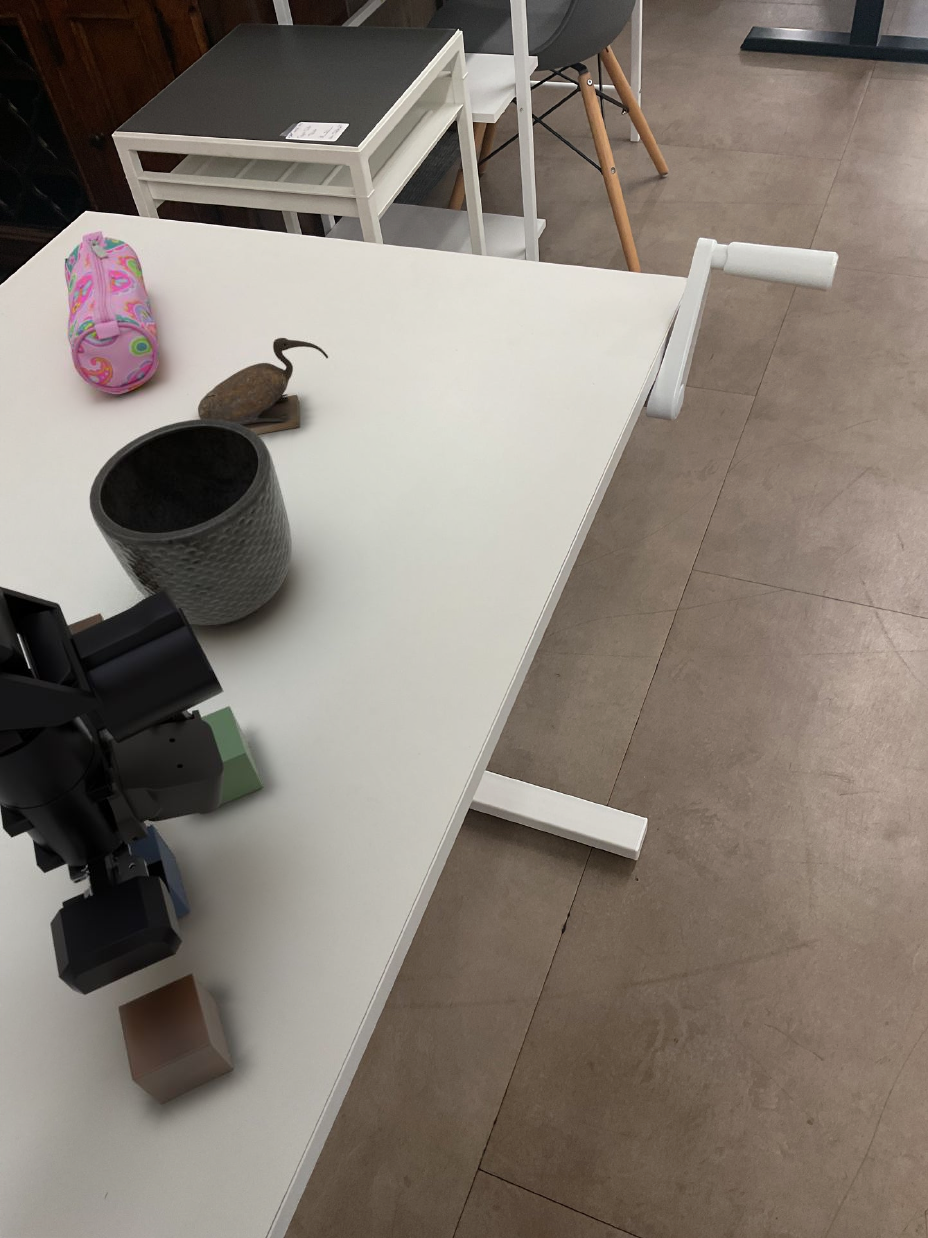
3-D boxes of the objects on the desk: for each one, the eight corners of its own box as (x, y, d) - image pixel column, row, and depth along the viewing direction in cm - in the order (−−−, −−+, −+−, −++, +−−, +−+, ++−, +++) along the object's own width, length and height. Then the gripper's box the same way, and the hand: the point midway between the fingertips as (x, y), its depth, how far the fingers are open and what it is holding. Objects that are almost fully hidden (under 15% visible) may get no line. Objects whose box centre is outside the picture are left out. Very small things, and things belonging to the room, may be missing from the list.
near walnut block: (160, 1104, 59) (132, 1081, 55) (145, 1033, 61) (117, 1006, 58) (234, 1069, 59) (210, 1044, 56) (215, 1000, 62) (192, 972, 59)
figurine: (340, 393, 102) (321, 318, 96) (342, 420, 99) (322, 345, 93) (204, 417, 102) (175, 343, 96) (202, 444, 99) (172, 371, 93)
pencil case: (80, 308, 119) (47, 236, 113) (155, 288, 120) (127, 216, 114) (88, 410, 105) (51, 335, 99) (174, 386, 106) (143, 311, 100)
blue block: (123, 942, 65) (96, 912, 62) (111, 884, 68) (84, 852, 65) (190, 912, 66) (167, 881, 62) (175, 856, 69) (152, 823, 65)
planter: (343, 564, 86) (307, 446, 76) (235, 679, 79) (181, 566, 69) (224, 514, 92) (177, 399, 82) (114, 617, 85) (49, 504, 75)
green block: (203, 813, 71) (182, 779, 68) (189, 765, 74) (168, 730, 71) (263, 787, 72) (245, 752, 69) (247, 740, 75) (229, 705, 72)
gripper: (227, 838, 50) (302, 963, 62) (151, 595, 62) (226, 739, 74) (4, 935, 48) (125, 1045, 60) (-30, 665, 60) (76, 801, 71)
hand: (144, 892), depth 66 cm, fingers closed on blue block, 4 cm apart
